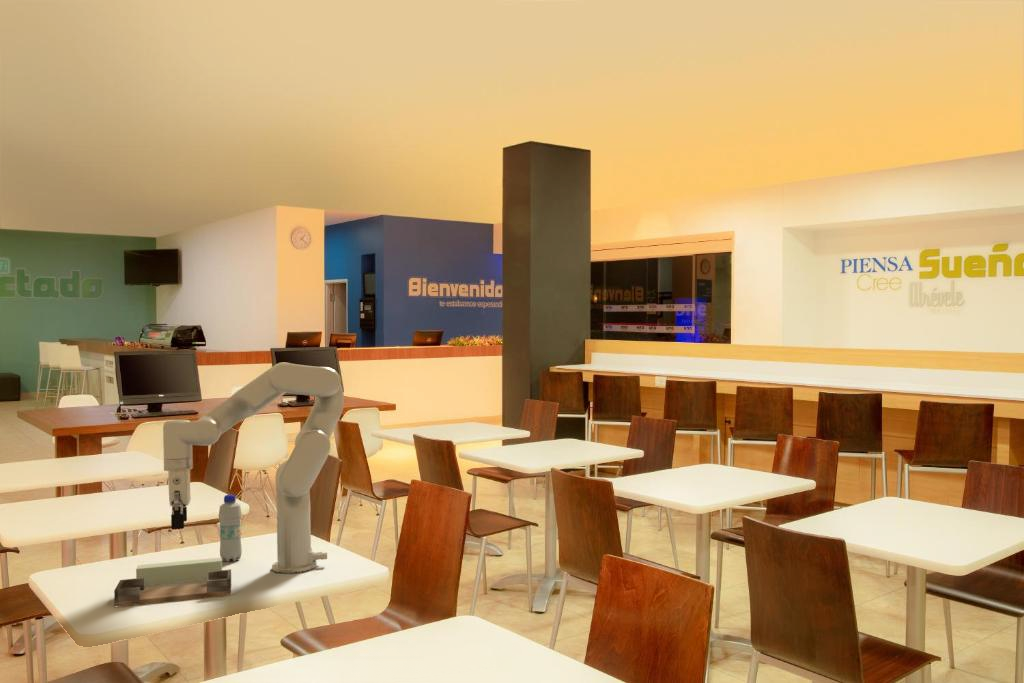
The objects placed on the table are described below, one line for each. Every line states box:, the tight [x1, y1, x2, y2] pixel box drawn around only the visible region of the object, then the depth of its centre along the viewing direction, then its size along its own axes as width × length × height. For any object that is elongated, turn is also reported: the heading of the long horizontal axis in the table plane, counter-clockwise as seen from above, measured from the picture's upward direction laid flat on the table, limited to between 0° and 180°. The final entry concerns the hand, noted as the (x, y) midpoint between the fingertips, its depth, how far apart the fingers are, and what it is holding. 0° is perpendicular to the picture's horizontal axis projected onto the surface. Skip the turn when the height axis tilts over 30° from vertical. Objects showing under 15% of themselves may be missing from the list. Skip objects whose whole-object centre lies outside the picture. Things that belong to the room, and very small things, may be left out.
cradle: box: [113, 568, 232, 607], centre depth 214 cm, size 28×10×4 cm, turn 108°
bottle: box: [218, 493, 243, 563], centre depth 248 cm, size 7×7×20 cm
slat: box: [135, 557, 223, 586], centre depth 228 cm, size 22×4×5 cm, turn 108°
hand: (179, 525), depth 228 cm, fingers open, 9 cm apart
